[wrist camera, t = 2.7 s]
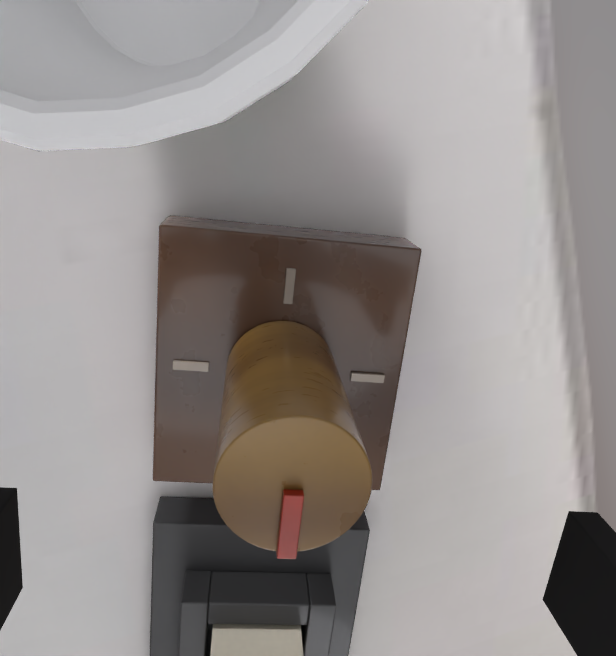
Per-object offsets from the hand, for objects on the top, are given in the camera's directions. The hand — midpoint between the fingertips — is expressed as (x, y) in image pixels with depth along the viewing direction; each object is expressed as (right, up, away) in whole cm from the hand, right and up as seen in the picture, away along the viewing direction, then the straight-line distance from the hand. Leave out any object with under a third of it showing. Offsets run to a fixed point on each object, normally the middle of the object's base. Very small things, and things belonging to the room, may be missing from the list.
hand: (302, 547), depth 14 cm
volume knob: (-1, +3, +9) cm, 10 cm away
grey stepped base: (-3, -9, +16) cm, 19 cm away
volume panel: (-1, +4, +12) cm, 13 cm away
